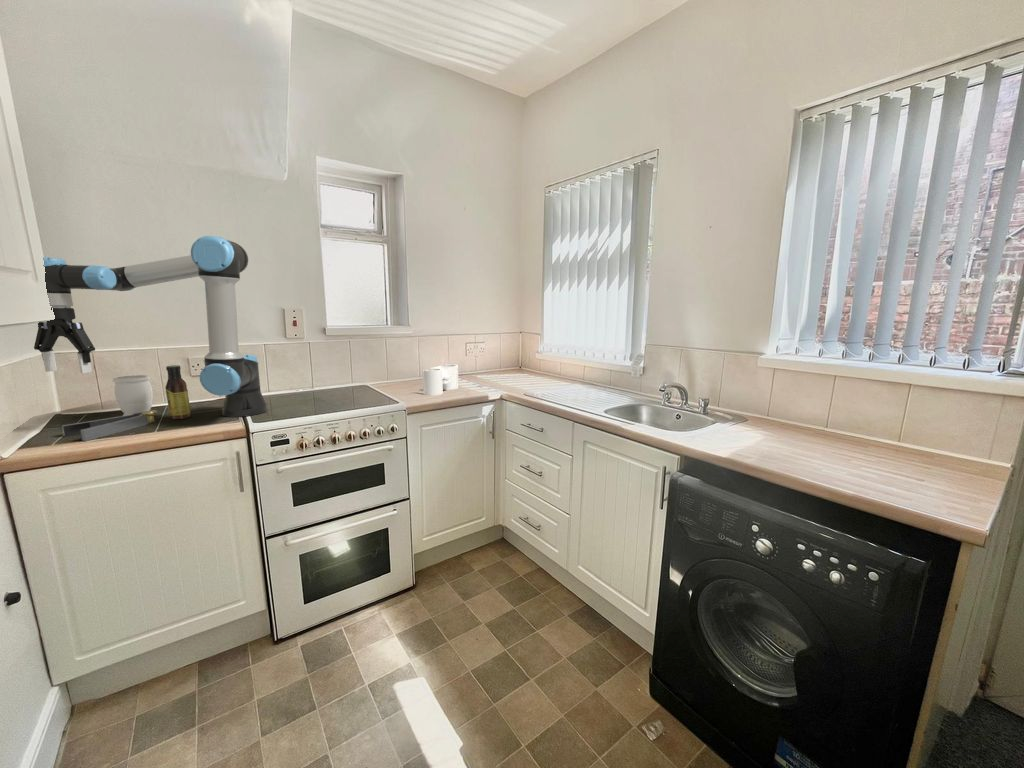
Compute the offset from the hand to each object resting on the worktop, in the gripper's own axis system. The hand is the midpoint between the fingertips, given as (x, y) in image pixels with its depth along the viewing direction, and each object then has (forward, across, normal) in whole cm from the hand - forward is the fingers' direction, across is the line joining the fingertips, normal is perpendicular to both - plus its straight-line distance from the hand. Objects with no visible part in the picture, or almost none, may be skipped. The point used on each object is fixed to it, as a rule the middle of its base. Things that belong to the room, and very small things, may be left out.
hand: (68, 371), depth 138 cm
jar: (+20, -3, -17) cm, 26 cm away
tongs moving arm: (+19, -12, -2) cm, 23 cm away
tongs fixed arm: (+19, -16, 0) cm, 25 cm away
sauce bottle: (+20, -21, -17) cm, 34 cm away
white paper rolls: (+19, -103, -85) cm, 134 cm away
